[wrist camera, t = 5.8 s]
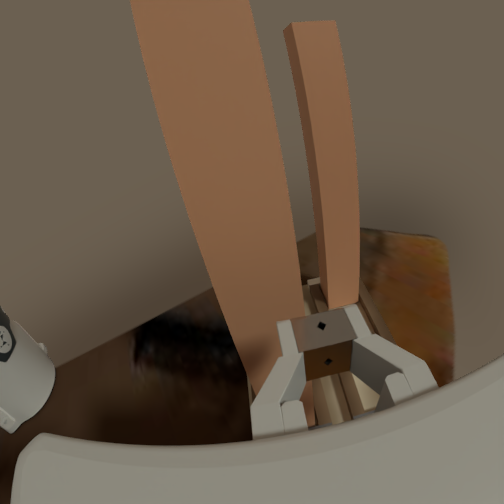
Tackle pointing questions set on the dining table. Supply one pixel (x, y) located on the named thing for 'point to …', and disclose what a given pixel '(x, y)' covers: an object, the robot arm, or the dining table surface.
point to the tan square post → (328, 154)
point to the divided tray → (346, 383)
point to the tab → (227, 166)
